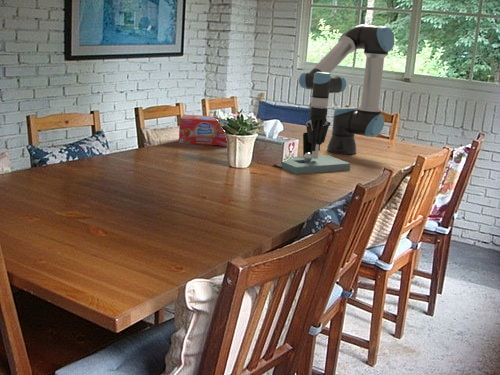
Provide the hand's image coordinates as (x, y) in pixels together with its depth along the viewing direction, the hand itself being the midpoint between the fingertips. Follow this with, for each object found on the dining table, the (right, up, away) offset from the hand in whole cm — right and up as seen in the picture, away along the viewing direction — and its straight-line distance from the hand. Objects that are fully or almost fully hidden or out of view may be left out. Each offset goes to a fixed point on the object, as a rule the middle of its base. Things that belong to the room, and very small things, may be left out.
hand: (314, 157), depth 295 cm
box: (-53, +9, +41) cm, 67 cm away
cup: (-1, +1, +20) cm, 20 cm away
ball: (-3, 0, -2) cm, 4 cm away
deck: (-1, -4, +1) cm, 4 cm away
